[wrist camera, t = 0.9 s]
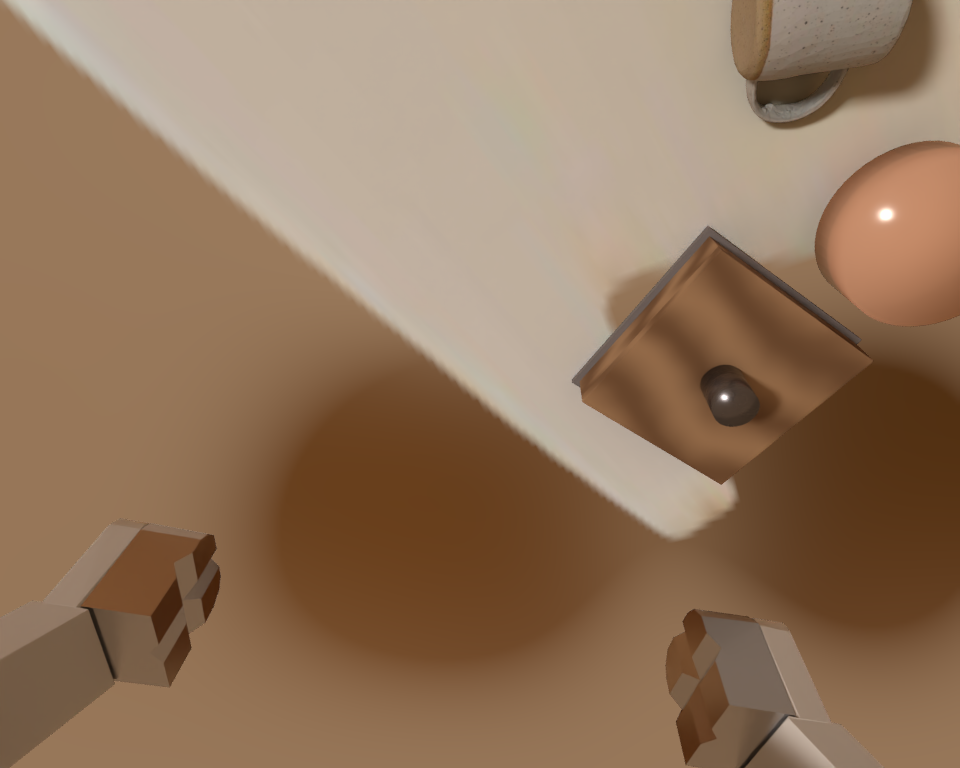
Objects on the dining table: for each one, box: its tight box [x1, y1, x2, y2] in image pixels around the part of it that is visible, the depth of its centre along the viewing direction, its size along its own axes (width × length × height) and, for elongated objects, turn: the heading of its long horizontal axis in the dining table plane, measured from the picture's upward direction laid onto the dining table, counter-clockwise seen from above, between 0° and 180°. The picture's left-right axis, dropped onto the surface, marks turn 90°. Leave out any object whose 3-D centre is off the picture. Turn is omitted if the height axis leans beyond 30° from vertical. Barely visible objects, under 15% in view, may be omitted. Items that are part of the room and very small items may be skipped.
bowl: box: [815, 141, 960, 327], centre depth 41 cm, size 12×12×7 cm
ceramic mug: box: [731, 0, 913, 123], centre depth 35 cm, size 11×8×8 cm
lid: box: [580, 236, 873, 485], centre depth 48 cm, size 17×17×8 cm
